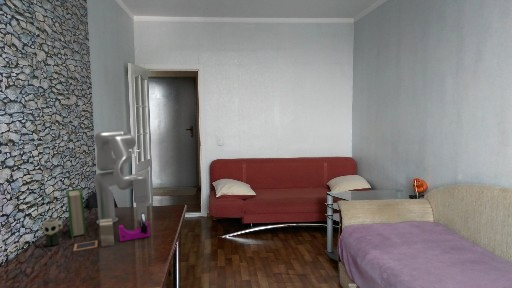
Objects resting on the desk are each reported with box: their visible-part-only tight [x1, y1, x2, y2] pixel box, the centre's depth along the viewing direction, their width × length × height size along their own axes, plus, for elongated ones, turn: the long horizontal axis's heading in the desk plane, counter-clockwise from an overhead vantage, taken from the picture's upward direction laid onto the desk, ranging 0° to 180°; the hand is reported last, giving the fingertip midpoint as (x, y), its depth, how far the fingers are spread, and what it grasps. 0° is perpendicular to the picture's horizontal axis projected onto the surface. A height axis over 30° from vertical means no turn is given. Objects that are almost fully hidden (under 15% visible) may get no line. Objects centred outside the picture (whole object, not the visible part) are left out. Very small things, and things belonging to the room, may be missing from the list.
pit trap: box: [72, 239, 99, 252], centre depth 185 cm, size 10×11×1 cm
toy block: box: [118, 220, 150, 242], centre depth 194 cm, size 15×6×8 cm, turn 114°
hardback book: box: [66, 188, 87, 239], centre depth 208 cm, size 18×7×24 cm, turn 30°
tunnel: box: [99, 218, 115, 247], centre depth 189 cm, size 12×6×11 cm, turn 23°
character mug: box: [38, 218, 64, 247], centre depth 190 cm, size 11×7×13 cm, turn 111°
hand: (143, 230), depth 196 cm, fingers closed on toy block, 6 cm apart
